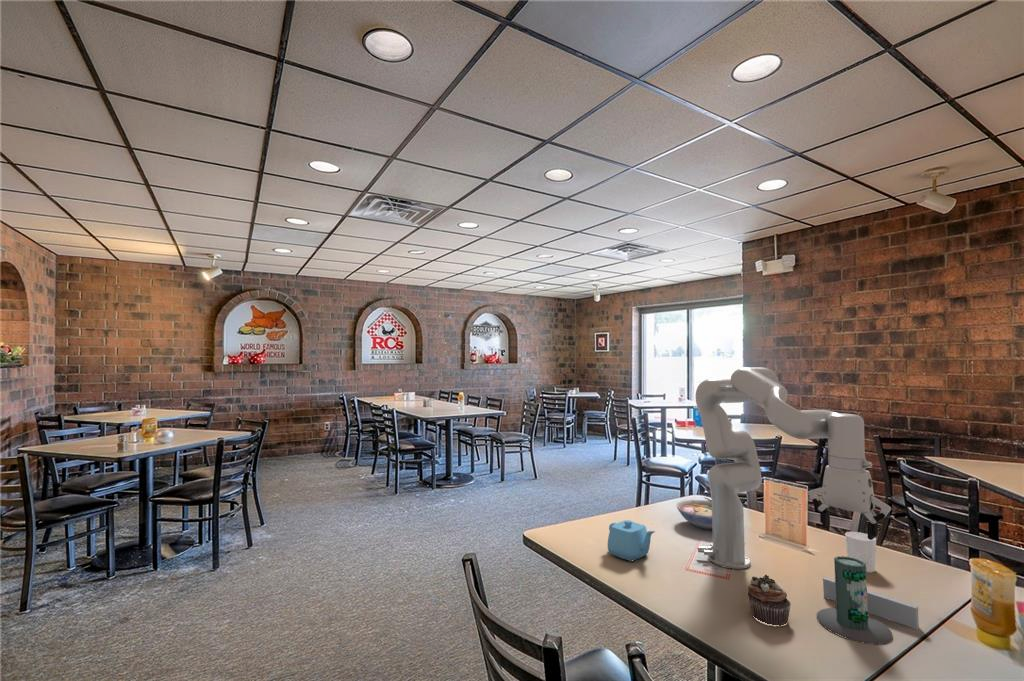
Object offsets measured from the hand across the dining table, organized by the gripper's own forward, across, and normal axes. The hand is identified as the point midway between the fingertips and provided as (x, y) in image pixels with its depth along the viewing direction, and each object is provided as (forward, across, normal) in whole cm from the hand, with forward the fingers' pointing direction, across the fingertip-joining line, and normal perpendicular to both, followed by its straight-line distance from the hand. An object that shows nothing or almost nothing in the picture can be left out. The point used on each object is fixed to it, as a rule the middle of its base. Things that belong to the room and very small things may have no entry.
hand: (848, 532), depth 117 cm
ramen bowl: (+24, +60, -38) cm, 75 cm away
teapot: (+24, +60, +9) cm, 65 cm away
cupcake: (+23, +14, +13) cm, 30 cm away
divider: (+23, -1, -11) cm, 25 cm away
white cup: (+23, +9, -41) cm, 48 cm away
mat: (+23, -1, 0) cm, 23 cm away
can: (+22, 0, 0) cm, 22 cm away
